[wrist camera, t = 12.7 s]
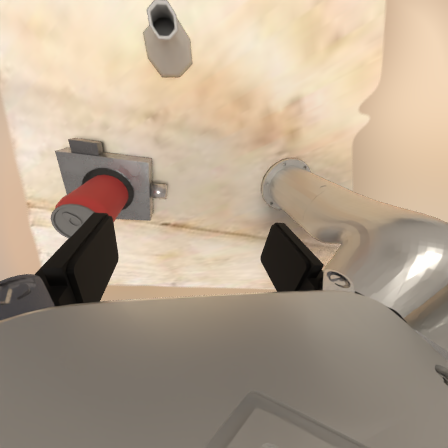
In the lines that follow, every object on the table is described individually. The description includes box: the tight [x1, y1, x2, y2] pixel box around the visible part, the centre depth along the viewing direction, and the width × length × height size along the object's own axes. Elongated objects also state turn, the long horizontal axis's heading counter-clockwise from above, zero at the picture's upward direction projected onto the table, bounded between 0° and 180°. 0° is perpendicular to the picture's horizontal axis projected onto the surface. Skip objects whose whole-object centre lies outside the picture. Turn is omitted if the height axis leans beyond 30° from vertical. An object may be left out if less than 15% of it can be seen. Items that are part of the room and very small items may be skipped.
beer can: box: [51, 175, 128, 238], centre depth 28 cm, size 7×7×12 cm
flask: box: [143, 0, 192, 77], centre depth 24 cm, size 7×7×10 cm
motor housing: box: [55, 138, 167, 220], centre depth 35 cm, size 17×14×4 cm
